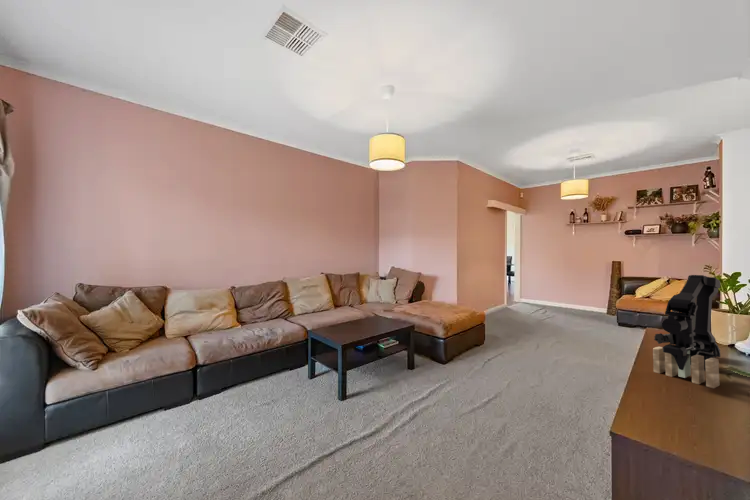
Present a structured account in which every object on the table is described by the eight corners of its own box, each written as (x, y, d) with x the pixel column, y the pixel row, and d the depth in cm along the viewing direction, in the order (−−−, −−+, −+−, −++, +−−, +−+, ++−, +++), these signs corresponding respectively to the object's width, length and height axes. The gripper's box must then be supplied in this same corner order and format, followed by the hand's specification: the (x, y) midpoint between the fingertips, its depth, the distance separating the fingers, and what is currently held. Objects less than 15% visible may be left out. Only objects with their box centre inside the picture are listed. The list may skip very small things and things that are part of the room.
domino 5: (706, 386, 117) (705, 359, 117) (712, 383, 119) (711, 357, 119) (713, 388, 115) (712, 361, 115) (719, 385, 117) (718, 359, 117)
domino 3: (678, 376, 124) (677, 351, 124) (684, 373, 126) (683, 349, 126) (684, 378, 122) (684, 352, 122) (690, 375, 124) (689, 350, 124)
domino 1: (653, 371, 131) (652, 348, 131) (659, 369, 133) (658, 346, 133) (659, 373, 129) (658, 349, 129) (665, 371, 132) (664, 347, 132)
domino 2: (665, 375, 128) (664, 351, 128) (671, 372, 130) (670, 349, 130) (671, 376, 126) (671, 352, 126) (677, 374, 128) (677, 350, 128)
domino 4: (691, 382, 120) (690, 356, 120) (697, 379, 123) (696, 354, 123) (698, 384, 119) (698, 358, 119) (704, 381, 121) (703, 356, 121)
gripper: (668, 322, 135) (670, 358, 135) (646, 328, 128) (647, 366, 128) (704, 327, 125) (705, 366, 125) (681, 334, 117) (683, 375, 117)
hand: (684, 368), depth 124 cm, fingers closed on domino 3, 5 cm apart
